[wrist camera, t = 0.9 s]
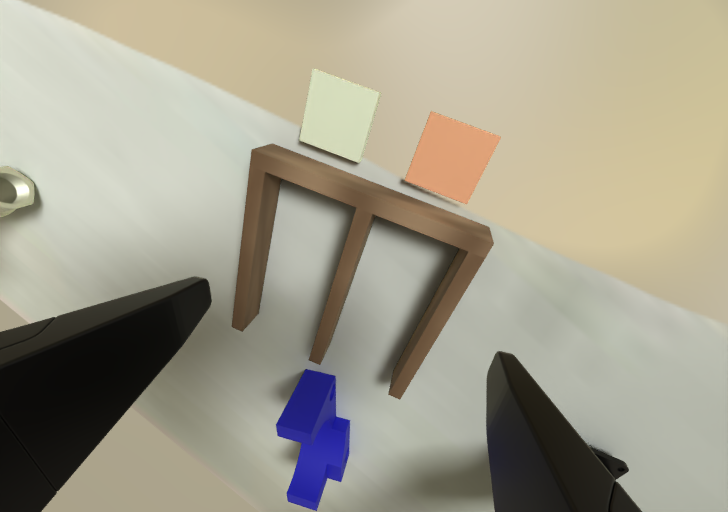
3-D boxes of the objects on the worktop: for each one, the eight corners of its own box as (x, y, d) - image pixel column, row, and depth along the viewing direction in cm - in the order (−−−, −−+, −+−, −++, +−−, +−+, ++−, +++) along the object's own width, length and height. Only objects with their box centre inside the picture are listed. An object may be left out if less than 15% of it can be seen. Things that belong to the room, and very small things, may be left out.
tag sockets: (534, 148, 17) (546, 156, 15) (404, 375, 27) (400, 399, 25) (285, 57, 18) (262, 53, 16) (248, 309, 28) (231, 326, 26)
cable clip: (349, 453, 35) (331, 515, 30) (311, 442, 36) (287, 501, 31) (351, 378, 29) (329, 439, 24) (306, 367, 30) (276, 424, 25)
